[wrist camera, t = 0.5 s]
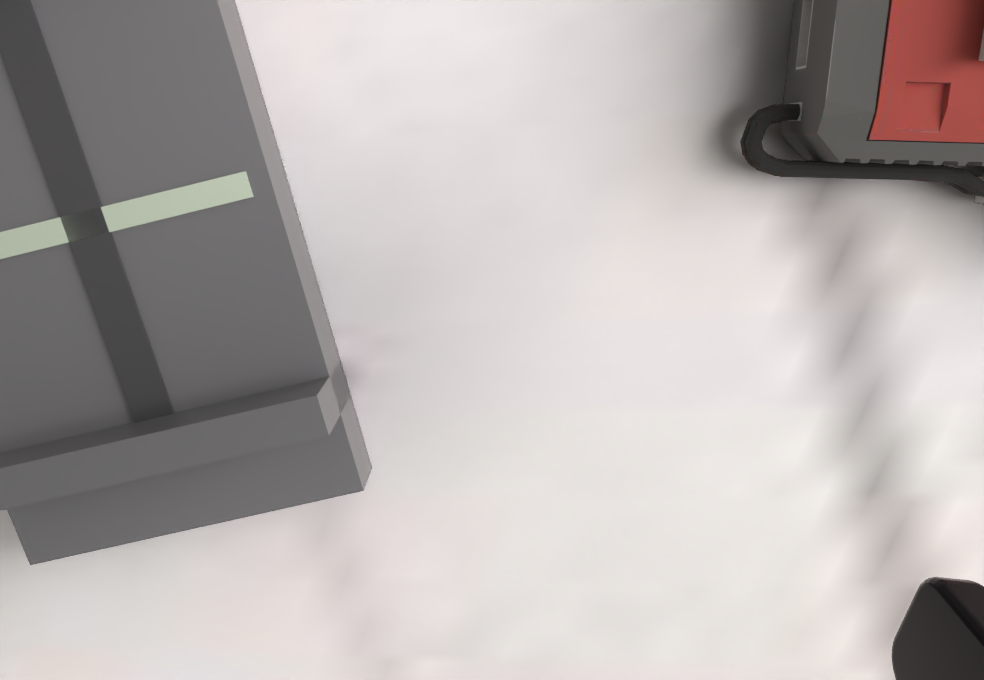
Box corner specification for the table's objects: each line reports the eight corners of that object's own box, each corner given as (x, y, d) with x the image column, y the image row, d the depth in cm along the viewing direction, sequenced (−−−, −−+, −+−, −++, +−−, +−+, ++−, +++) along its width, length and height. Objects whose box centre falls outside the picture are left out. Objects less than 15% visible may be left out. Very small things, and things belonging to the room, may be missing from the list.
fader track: (371, 467, 23) (353, 516, 20) (59, 537, 23) (-3, 596, 20) (91, -486, 17) (10, -611, 14) (-303, -368, 18) (-457, -466, 15)
